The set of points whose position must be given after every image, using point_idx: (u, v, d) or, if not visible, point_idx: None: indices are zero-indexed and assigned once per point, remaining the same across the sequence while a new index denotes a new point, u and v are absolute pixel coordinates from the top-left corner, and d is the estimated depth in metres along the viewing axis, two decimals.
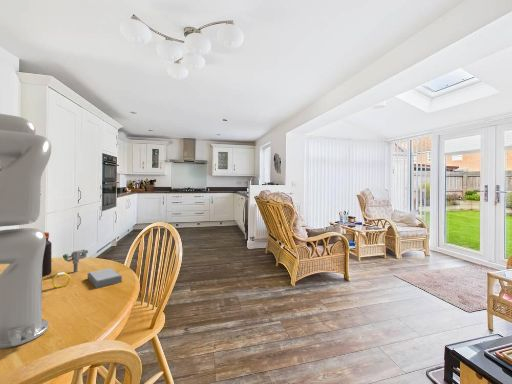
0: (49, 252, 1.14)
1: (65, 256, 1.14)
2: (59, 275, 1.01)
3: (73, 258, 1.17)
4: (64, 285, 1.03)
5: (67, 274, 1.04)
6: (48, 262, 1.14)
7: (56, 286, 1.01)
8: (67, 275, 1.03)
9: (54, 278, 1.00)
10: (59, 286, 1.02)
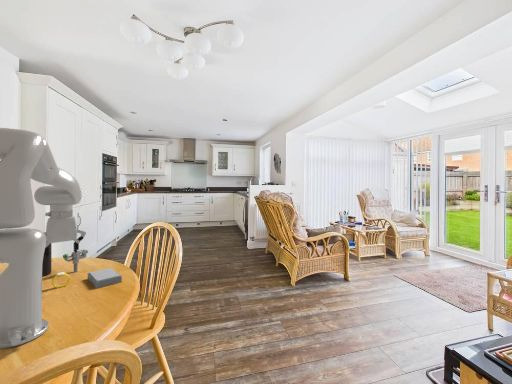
0: (49, 252, 1.14)
1: (65, 256, 1.14)
2: (59, 275, 1.01)
3: (73, 258, 1.17)
4: (64, 285, 1.03)
5: (67, 274, 1.04)
6: (48, 262, 1.14)
7: (56, 286, 1.01)
8: (67, 275, 1.03)
9: (54, 278, 1.00)
10: (59, 286, 1.02)
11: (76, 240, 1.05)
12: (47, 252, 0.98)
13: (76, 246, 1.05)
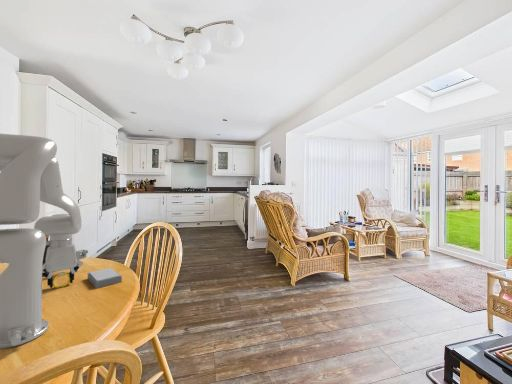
0: None
1: None
2: (59, 275, 1.01)
3: None
4: (64, 285, 1.03)
5: (67, 274, 1.04)
6: None
7: (56, 286, 1.01)
8: (67, 275, 1.03)
9: (54, 278, 1.00)
10: (59, 286, 1.02)
11: (71, 270, 1.04)
12: (51, 283, 0.99)
13: (71, 277, 1.04)
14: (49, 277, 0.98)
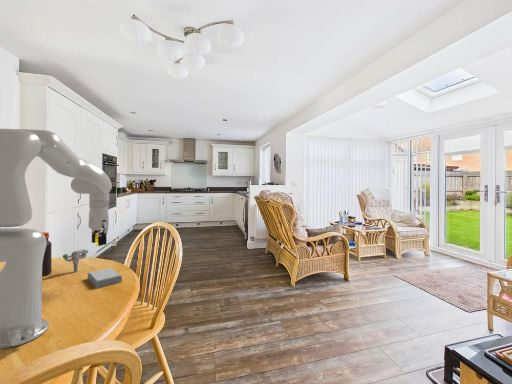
0: (49, 252, 1.14)
1: (65, 256, 1.14)
2: (95, 234, 1.08)
3: (73, 258, 1.17)
4: None
5: None
6: (48, 262, 1.14)
7: (97, 243, 1.09)
8: None
9: (95, 235, 1.09)
10: (97, 244, 1.08)
11: (99, 233, 1.05)
12: (92, 238, 1.09)
13: (98, 239, 1.05)
14: (92, 233, 1.09)
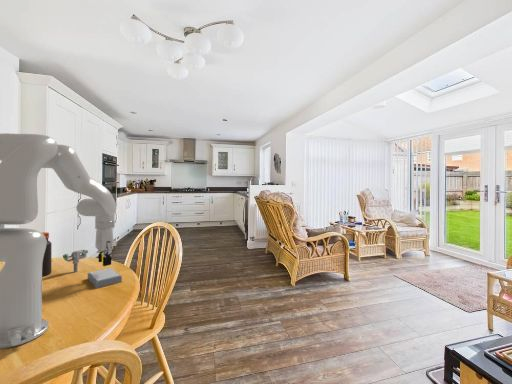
0: (49, 252, 1.14)
1: (65, 256, 1.14)
2: (101, 253, 1.09)
3: (73, 258, 1.17)
4: None
5: None
6: (48, 262, 1.14)
7: None
8: None
9: None
10: None
11: None
12: None
13: (103, 260, 1.06)
14: (99, 252, 1.11)
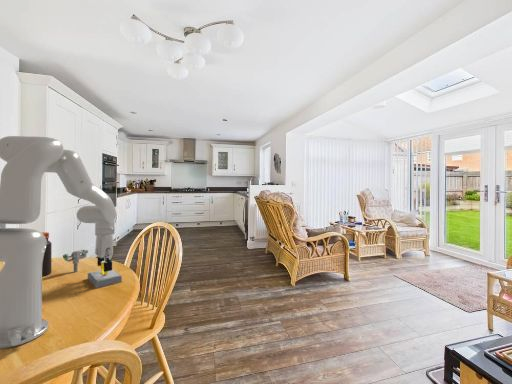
0: (49, 252, 1.14)
1: (65, 256, 1.14)
2: None
3: (73, 258, 1.17)
4: (104, 274, 1.09)
5: None
6: (48, 262, 1.14)
7: (103, 271, 1.11)
8: None
9: (101, 263, 1.11)
10: (103, 273, 1.10)
11: (104, 259, 1.05)
12: (97, 261, 1.12)
13: (104, 265, 1.05)
14: (98, 256, 1.12)
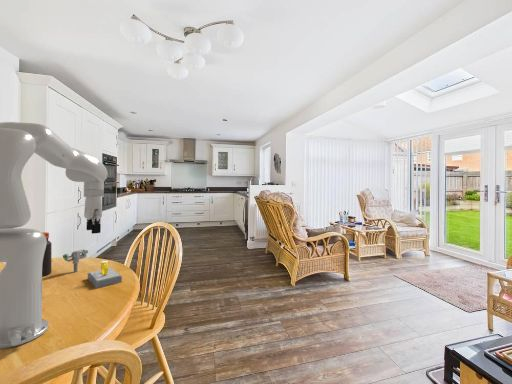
0: (49, 252, 1.14)
1: (65, 256, 1.14)
2: None
3: (73, 258, 1.17)
4: (104, 274, 1.09)
5: (106, 265, 1.08)
6: (48, 262, 1.14)
7: (103, 271, 1.11)
8: (103, 265, 1.08)
9: (101, 263, 1.11)
10: (103, 273, 1.10)
11: (92, 221, 1.02)
12: None
13: (91, 227, 1.02)
14: (87, 220, 1.10)
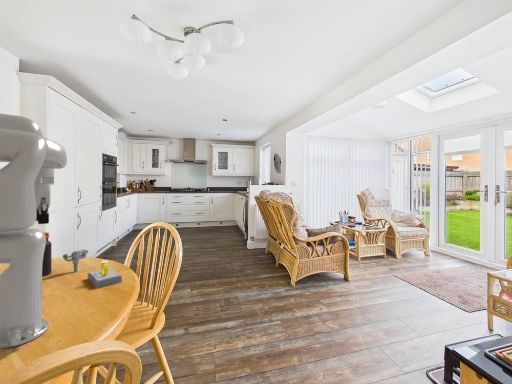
0: (49, 252, 1.14)
1: (65, 256, 1.14)
2: None
3: (73, 258, 1.17)
4: (104, 274, 1.09)
5: (106, 265, 1.08)
6: (48, 262, 1.14)
7: (103, 271, 1.11)
8: (103, 265, 1.08)
9: (101, 263, 1.11)
10: (103, 273, 1.10)
11: (39, 210, 0.94)
12: (35, 216, 1.00)
13: (38, 217, 0.94)
14: (36, 210, 1.01)
